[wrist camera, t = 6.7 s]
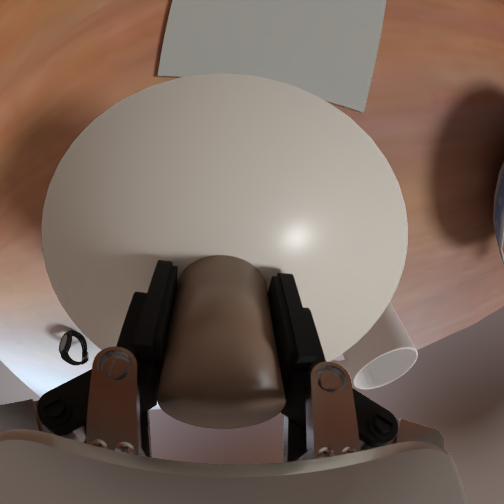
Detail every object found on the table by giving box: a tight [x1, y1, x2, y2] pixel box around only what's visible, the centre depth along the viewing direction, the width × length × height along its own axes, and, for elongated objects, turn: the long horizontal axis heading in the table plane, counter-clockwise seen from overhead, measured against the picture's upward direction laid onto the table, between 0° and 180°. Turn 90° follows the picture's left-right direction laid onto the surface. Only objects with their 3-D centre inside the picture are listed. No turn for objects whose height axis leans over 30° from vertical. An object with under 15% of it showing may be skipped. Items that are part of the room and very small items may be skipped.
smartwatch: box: [59, 331, 88, 365], centre depth 34 cm, size 4×5×5 cm
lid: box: [41, 73, 408, 429], centre depth 9 cm, size 16×16×6 cm
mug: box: [330, 302, 418, 389], centre depth 31 cm, size 12×8×10 cm
